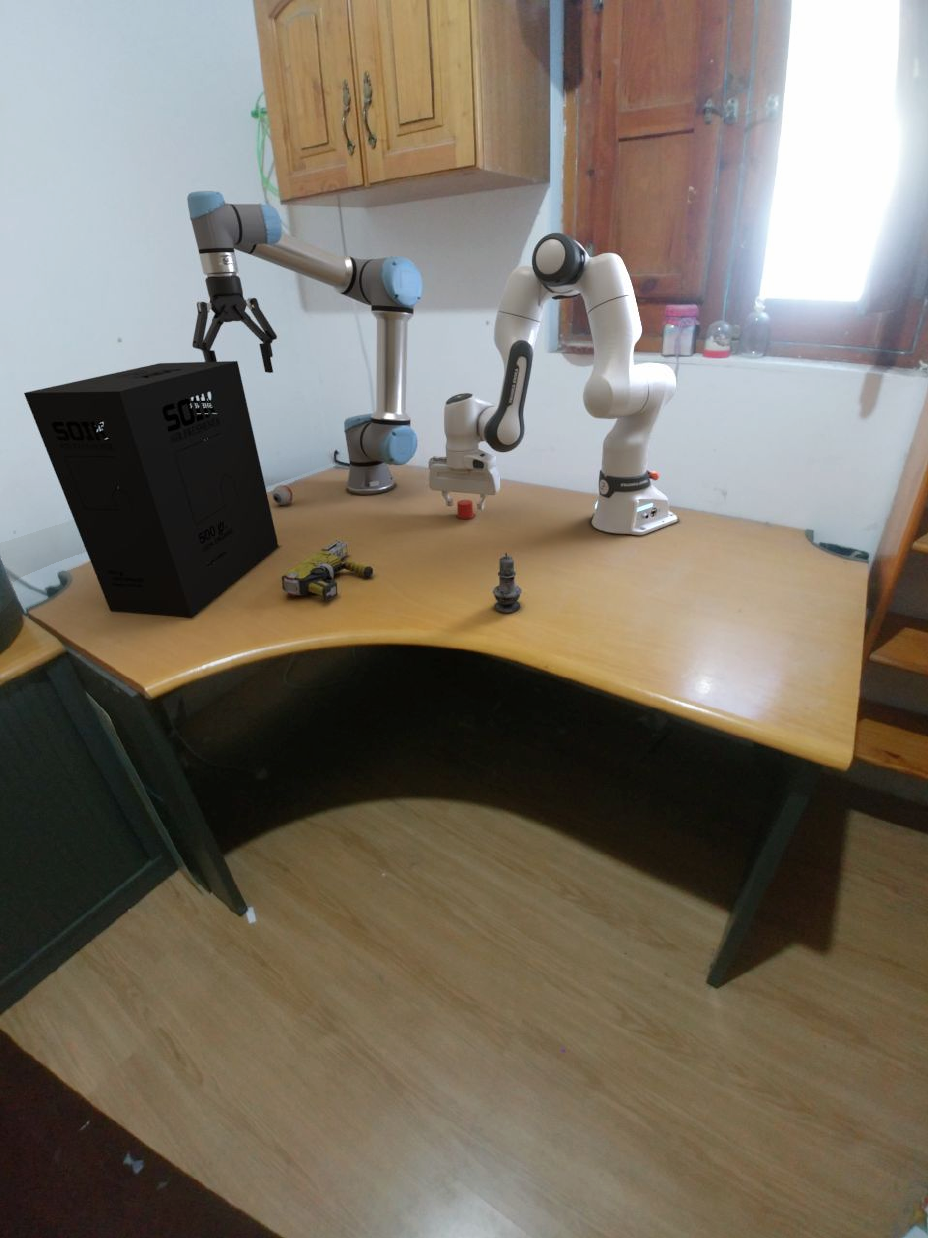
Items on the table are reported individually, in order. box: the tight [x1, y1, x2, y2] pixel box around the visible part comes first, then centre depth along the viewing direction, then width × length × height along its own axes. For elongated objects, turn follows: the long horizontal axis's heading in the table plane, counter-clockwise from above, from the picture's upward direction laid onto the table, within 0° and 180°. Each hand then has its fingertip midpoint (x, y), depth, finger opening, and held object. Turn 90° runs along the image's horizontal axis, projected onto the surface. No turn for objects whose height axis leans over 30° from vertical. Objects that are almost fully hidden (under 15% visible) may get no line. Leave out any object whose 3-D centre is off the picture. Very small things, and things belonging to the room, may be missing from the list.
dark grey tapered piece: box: [492, 552, 523, 613], centre depth 120 cm, size 6×6×12 cm
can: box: [456, 499, 474, 520], centre depth 169 cm, size 4×4×4 cm
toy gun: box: [281, 539, 374, 603], centre depth 138 cm, size 5×24×15 cm
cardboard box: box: [23, 360, 279, 618], centre depth 133 cm, size 38×20×45 cm, turn 167°
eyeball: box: [271, 484, 294, 506], centre depth 185 cm, size 6×6×6 cm
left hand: (244, 376), depth 146 cm, fingers open, 13 cm apart
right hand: (465, 507), depth 169 cm, fingers open, 8 cm apart
